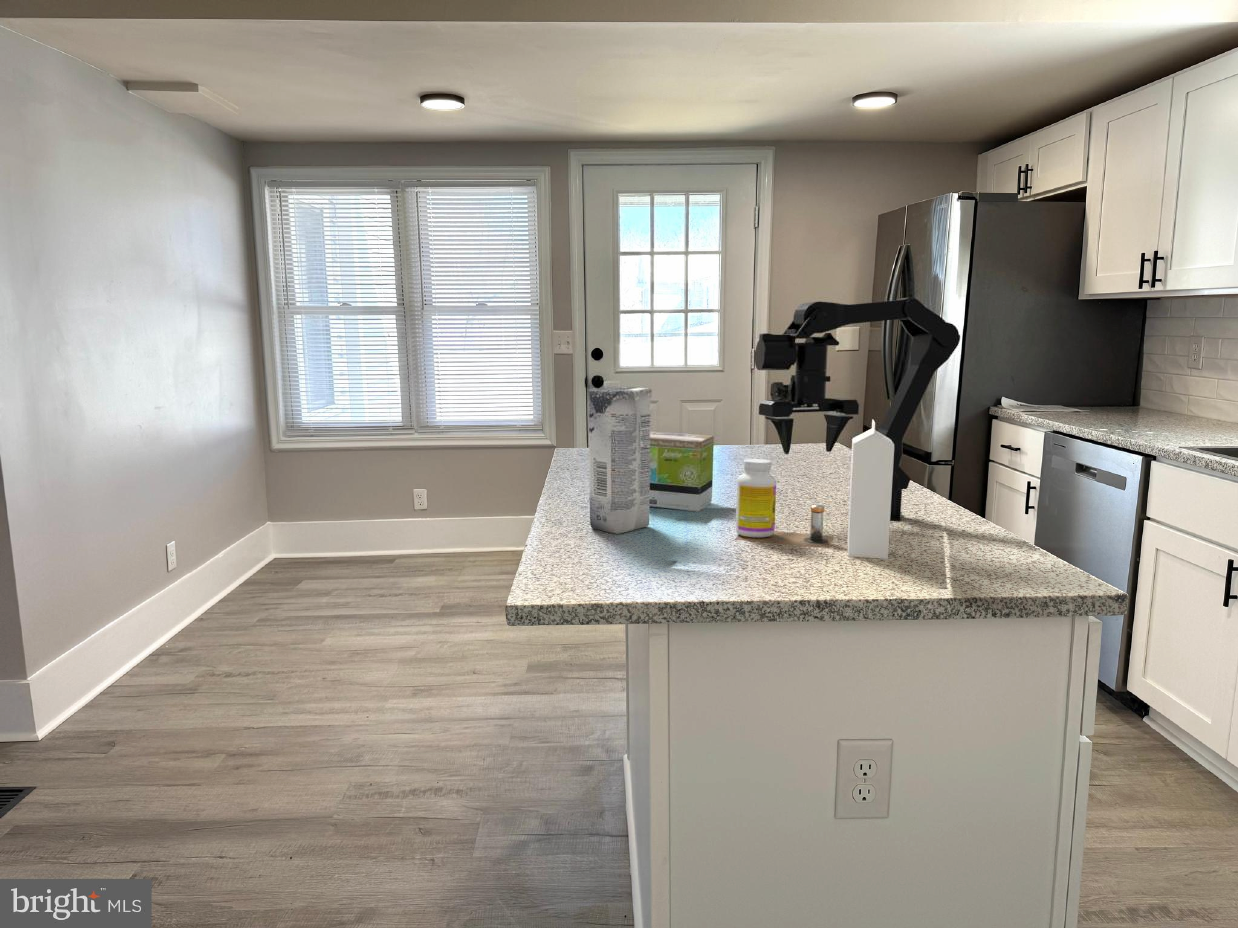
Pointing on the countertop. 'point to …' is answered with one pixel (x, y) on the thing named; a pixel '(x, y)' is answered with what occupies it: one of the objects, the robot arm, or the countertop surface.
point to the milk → (870, 495)
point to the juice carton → (619, 457)
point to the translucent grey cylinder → (816, 523)
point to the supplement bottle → (756, 500)
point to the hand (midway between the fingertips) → (807, 452)
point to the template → (790, 539)
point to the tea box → (681, 470)
